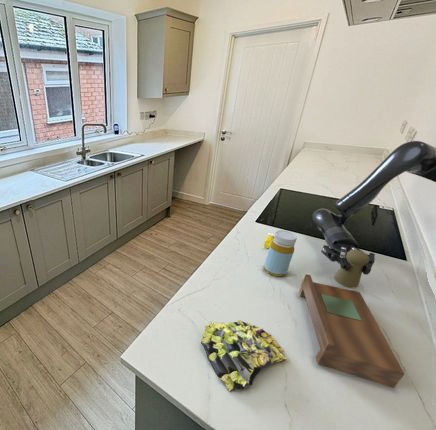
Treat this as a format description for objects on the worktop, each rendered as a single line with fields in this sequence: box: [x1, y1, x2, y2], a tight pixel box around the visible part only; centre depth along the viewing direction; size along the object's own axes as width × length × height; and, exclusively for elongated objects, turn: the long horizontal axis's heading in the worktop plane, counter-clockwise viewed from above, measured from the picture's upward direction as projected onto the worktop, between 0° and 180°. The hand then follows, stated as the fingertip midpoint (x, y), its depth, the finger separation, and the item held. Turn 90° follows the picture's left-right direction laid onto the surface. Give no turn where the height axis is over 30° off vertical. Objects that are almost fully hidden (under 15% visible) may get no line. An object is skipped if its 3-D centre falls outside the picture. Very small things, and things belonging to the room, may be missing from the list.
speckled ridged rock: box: [200, 320, 288, 392], centre depth 64 cm, size 20×16×6 cm
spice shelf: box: [298, 273, 406, 388], centre depth 69 cm, size 14×26×7 cm, turn 156°
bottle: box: [263, 229, 298, 277], centre depth 90 cm, size 7×7×15 cm
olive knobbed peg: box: [333, 250, 369, 289], centre depth 80 cm, size 6×6×11 cm
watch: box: [263, 232, 275, 249], centre depth 105 cm, size 6×3×6 cm, turn 130°
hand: (357, 270), depth 78 cm, fingers closed on olive knobbed peg, 4 cm apart
